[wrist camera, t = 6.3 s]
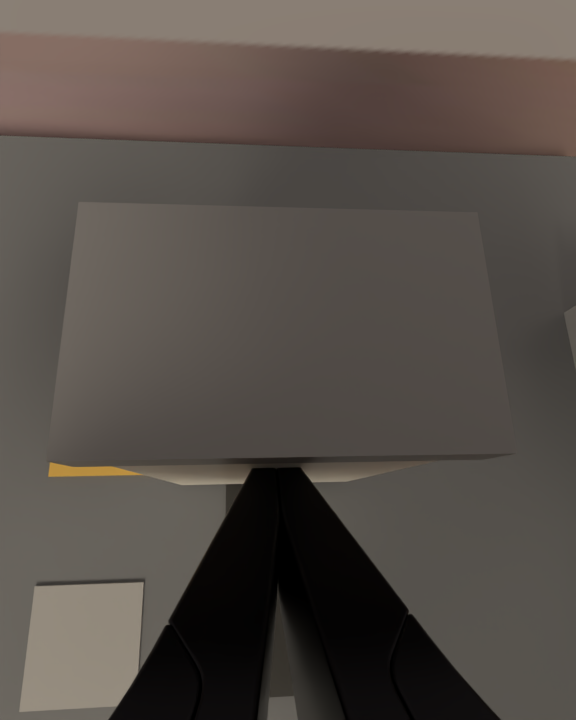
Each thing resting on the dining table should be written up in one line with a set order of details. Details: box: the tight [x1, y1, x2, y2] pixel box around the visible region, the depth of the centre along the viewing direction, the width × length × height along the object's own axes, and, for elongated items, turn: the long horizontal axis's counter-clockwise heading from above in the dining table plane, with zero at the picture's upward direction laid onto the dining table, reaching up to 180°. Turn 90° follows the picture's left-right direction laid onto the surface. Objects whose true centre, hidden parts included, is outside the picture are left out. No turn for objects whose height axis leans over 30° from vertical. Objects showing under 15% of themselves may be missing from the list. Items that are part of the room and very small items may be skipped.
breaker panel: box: [0, 136, 576, 720], centre depth 13 cm, size 28×27×4 cm
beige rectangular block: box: [46, 202, 517, 485], centre depth 10 cm, size 3×5×9 cm, turn 91°
